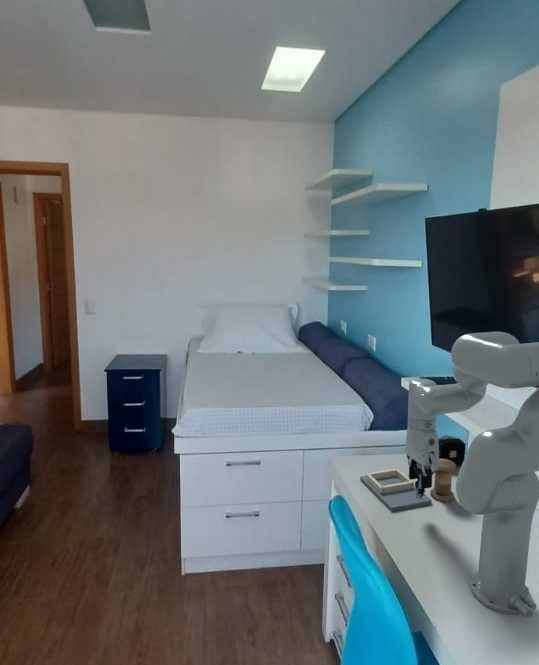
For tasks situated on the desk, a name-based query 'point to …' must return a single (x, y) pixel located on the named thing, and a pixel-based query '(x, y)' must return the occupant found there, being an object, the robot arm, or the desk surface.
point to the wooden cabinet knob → (443, 481)
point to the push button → (419, 480)
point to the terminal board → (394, 489)
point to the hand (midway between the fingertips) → (420, 482)
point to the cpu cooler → (451, 449)
